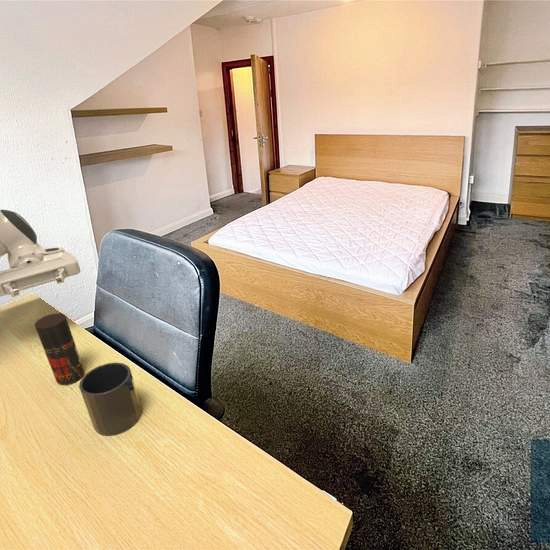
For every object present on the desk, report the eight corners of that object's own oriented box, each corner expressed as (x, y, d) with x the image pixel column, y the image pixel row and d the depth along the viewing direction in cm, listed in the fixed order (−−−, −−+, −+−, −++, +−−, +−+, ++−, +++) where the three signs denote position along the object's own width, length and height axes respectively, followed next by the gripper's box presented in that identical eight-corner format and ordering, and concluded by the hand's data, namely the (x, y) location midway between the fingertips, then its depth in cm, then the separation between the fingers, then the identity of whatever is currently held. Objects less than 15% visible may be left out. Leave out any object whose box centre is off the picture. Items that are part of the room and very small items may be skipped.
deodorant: (53, 376, 93) (31, 321, 86) (79, 364, 97) (60, 310, 90) (61, 389, 89) (38, 332, 82) (88, 376, 92) (69, 320, 86)
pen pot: (83, 428, 78) (68, 388, 74) (117, 396, 86) (105, 358, 81) (118, 441, 75) (105, 400, 71) (151, 407, 82) (140, 368, 78)
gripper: (-22, 268, 98) (-21, 289, 87) (69, 245, 108) (80, 261, 97) (-12, 291, 101) (-9, 314, 90) (76, 266, 110) (87, 284, 100)
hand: (38, 286), depth 94 cm, fingers open, 8 cm apart
